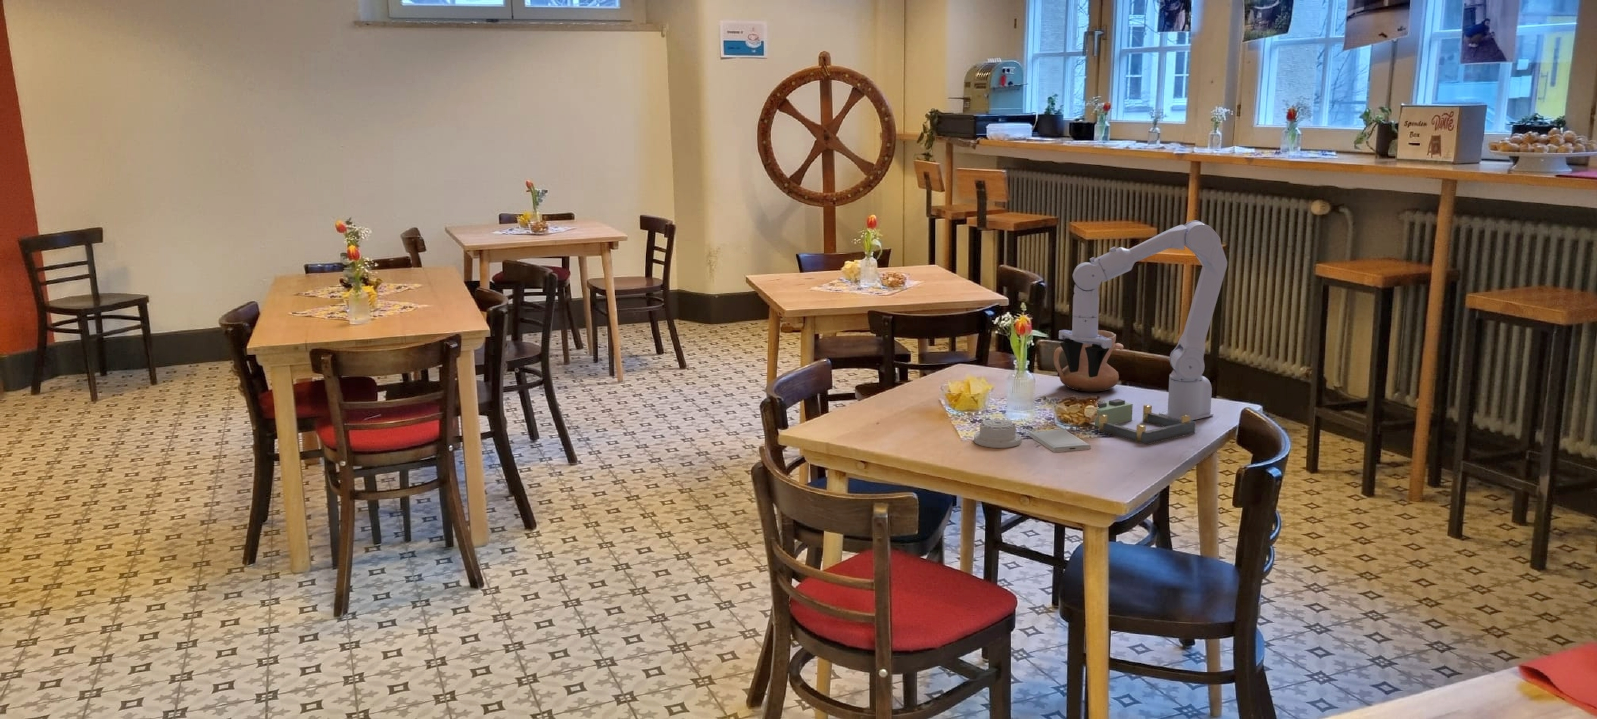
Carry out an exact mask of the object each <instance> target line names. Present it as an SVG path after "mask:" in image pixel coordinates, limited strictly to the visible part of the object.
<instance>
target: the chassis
mask: <svg viewBox="0 0 1597 719" xmlns="http://www.w3.org/2000/svg"><path fill="white" fill-rule="evenodd" d="M1142 407H1143V408H1142V409H1143V410H1142V422H1144V423H1150V424H1153V425H1157V426H1161V427H1157V428H1154V429H1149V430H1146V429H1147V428H1146V427H1147V426H1146V425H1145V424H1137V425H1136V429H1132V428H1129V427H1125V426H1121V425H1120V424H1112V423H1108V422H1107V420H1108V415H1105V414H1101V415H1099V427H1098V432H1100V433H1101V432H1102V433H1105V434H1109V435H1112V436H1116V437H1118V438H1122V439H1125V440H1130V441H1133V442H1136V443H1138V444H1142V445H1145V446H1146V445H1151V444H1154V443H1159V442H1163V441H1166V440H1171V439H1176V438H1180V437H1184V436H1188V435H1192V434H1195V432H1196V421H1195V420H1192V421H1190V416H1189V415H1182V416H1181V420H1178V419H1174V418H1170V417H1167V416H1163V415H1159V413H1153V412H1152V411H1153V410H1152V405H1150V404H1144V405H1143V406H1142Z"/></svg>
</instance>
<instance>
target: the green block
mask: <svg viewBox="0 0 1597 719" xmlns="http://www.w3.org/2000/svg"><path fill="white" fill-rule="evenodd" d="M1097 402H1098V403H1097V404H1098V407H1099V408H1098V409H1096V410H1097V413H1098V417H1097V418H1096V420H1095V425H1094V427H1095V426H1096V427H1098V428H1099V415H1101V414H1105V415H1108V420H1107V422H1108V423H1112V424H1115V425H1118V424H1121V423H1126V422H1130V421H1133V407H1134V406H1133V405H1134V404H1133V403H1130V402H1126V400H1125V399H1121V398H1115V399H1110V400H1109V401H1108V400H1107V401H1100V400H1099V401H1097Z"/></svg>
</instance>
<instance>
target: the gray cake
mask: <svg viewBox="0 0 1597 719" xmlns="http://www.w3.org/2000/svg"><path fill="white" fill-rule="evenodd" d="M1016 432H1017V425H1016V422H1013V420H1010V419H1009V420H1008V419H1004V418H1003V419H1001V418H999V419H998V418H993V419H986V420H983V421H981V423H980V425H979V431H978V432H976V433H974V435H973V442H974V443H975V444H976V445H979V446H980V447H981V446H982V447H986V448H992V449H993V448H994V449H1006V448H1007V449H1008V448H1012V447H1013V448H1014V447H1017V446H1019V445H1021V444H1022V435H1021V434H1019V433H1016Z"/></svg>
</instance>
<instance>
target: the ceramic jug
mask: <svg viewBox="0 0 1597 719" xmlns="http://www.w3.org/2000/svg"><path fill="white" fill-rule="evenodd" d="M1098 335H1100V336H1103V337H1106V338H1109V339H1112V347H1111V348H1109V350H1108V352H1107V353H1106V355H1105V357H1104V358H1103V361H1102V363H1101V366H1100V369H1099V372H1098V375H1097V376H1096V377H1089V374H1088V358H1087V353H1086V350H1085V347H1090V346H1092V345H1090V344H1085V343H1083V346H1082V349H1081V353H1080V360H1079V369H1078V372H1072V373H1071V372H1070V371H1069V366H1068V365H1066V366H1064V367H1063V368H1062V367H1061V363H1060V357H1061V354H1062V353H1064V351H1063V349H1062V347H1061V346H1058V347H1057V348H1056V349H1055V350H1054V353H1053V356H1052V358H1053V365H1054V367H1055V369H1056V371H1057V372H1058V375H1059V381H1060V382H1061V383H1062V384H1063V385H1064V386H1066V387H1068V388H1069V389H1073V390H1076V391H1080V392H1085V393H1086V392H1087V393H1088V392H1093V393H1097V392H1104V391H1107V390H1110V389H1113V388H1114V387H1115V386H1116V385H1117V384H1118V383H1119V378H1120V376H1119V371H1117V370H1116V369H1115V368H1114V367H1113V366H1111V365H1109V364H1108V359H1109V358H1110V356H1111V354H1112V352H1113V351H1115V350H1117V349H1118V350H1123V349H1124V345H1123V344H1122V343H1119V342H1117V343H1116V339H1117V334H1116V333H1114V332H1112V331H1107V330H1104V329H1103V330H1102V329H1101V330H1100V329H1098Z"/></svg>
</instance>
